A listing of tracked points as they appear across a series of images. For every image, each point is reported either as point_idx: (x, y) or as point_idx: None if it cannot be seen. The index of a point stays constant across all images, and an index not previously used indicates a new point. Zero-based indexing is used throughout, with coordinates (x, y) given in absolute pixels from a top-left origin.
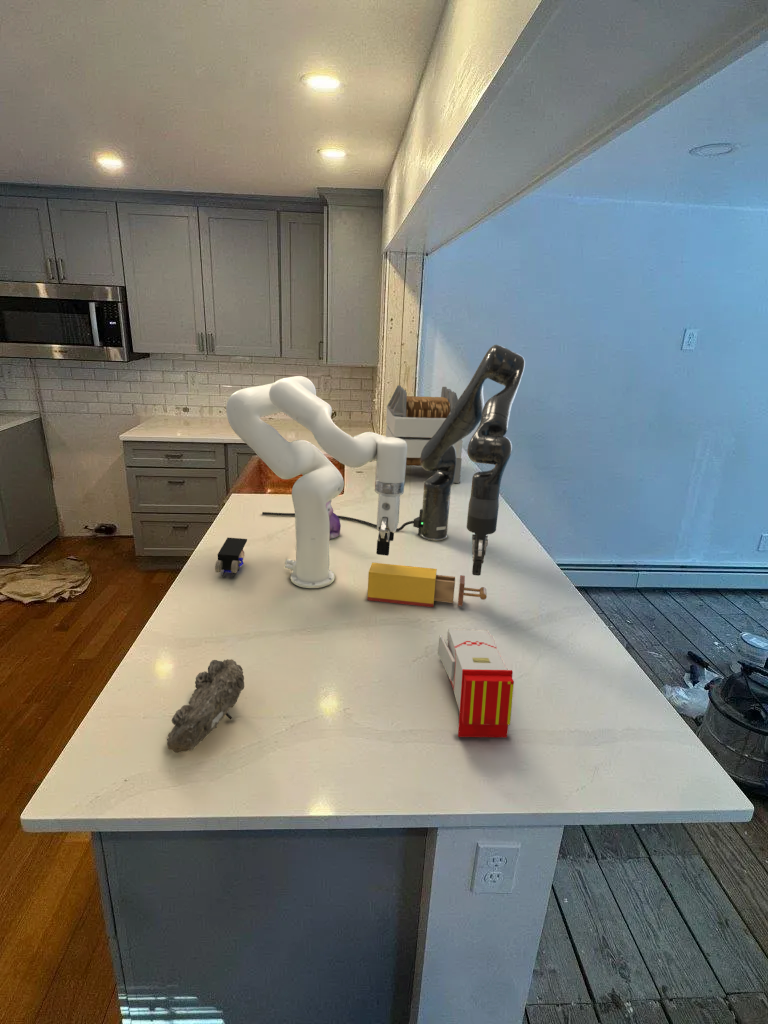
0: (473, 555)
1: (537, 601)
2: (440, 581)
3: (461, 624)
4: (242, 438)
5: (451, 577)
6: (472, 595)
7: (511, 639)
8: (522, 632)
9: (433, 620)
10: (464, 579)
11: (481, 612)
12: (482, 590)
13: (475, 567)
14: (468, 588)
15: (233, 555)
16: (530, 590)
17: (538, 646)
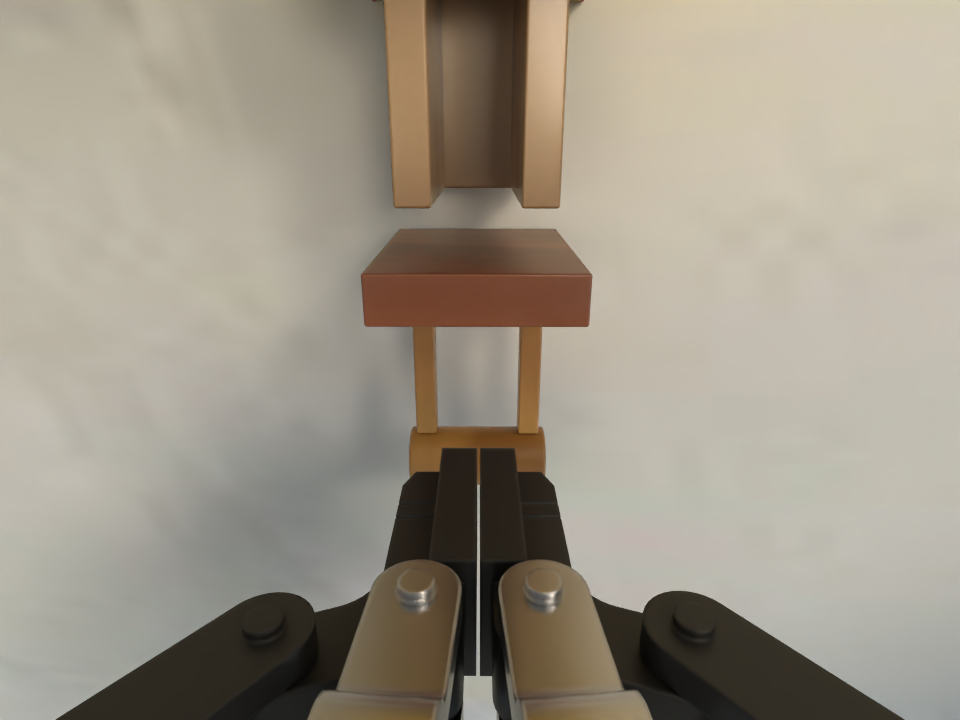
0: (520, 629)
1: None
2: (386, 1)
3: (172, 257)
4: None
5: (523, 158)
6: (416, 369)
7: (115, 553)
8: (220, 611)
9: (146, 18)
10: (479, 324)
11: (394, 398)
12: (478, 462)
13: (394, 546)
14: (528, 337)
15: None
16: None
17: (105, 668)
